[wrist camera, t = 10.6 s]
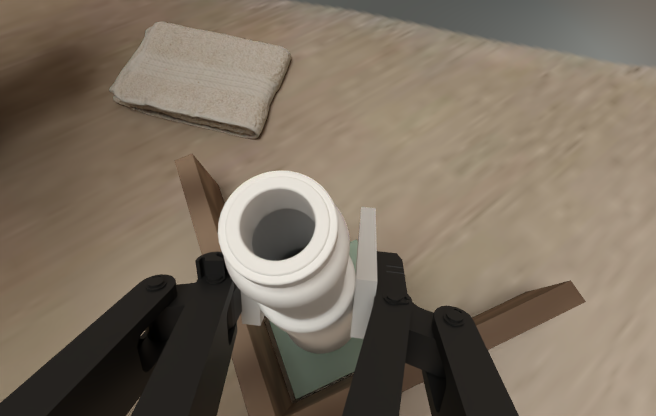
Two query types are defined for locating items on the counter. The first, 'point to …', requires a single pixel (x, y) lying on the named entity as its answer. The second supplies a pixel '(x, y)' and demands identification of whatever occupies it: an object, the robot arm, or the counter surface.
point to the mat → (317, 357)
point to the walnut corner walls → (328, 404)
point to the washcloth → (203, 79)
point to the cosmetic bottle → (291, 257)
